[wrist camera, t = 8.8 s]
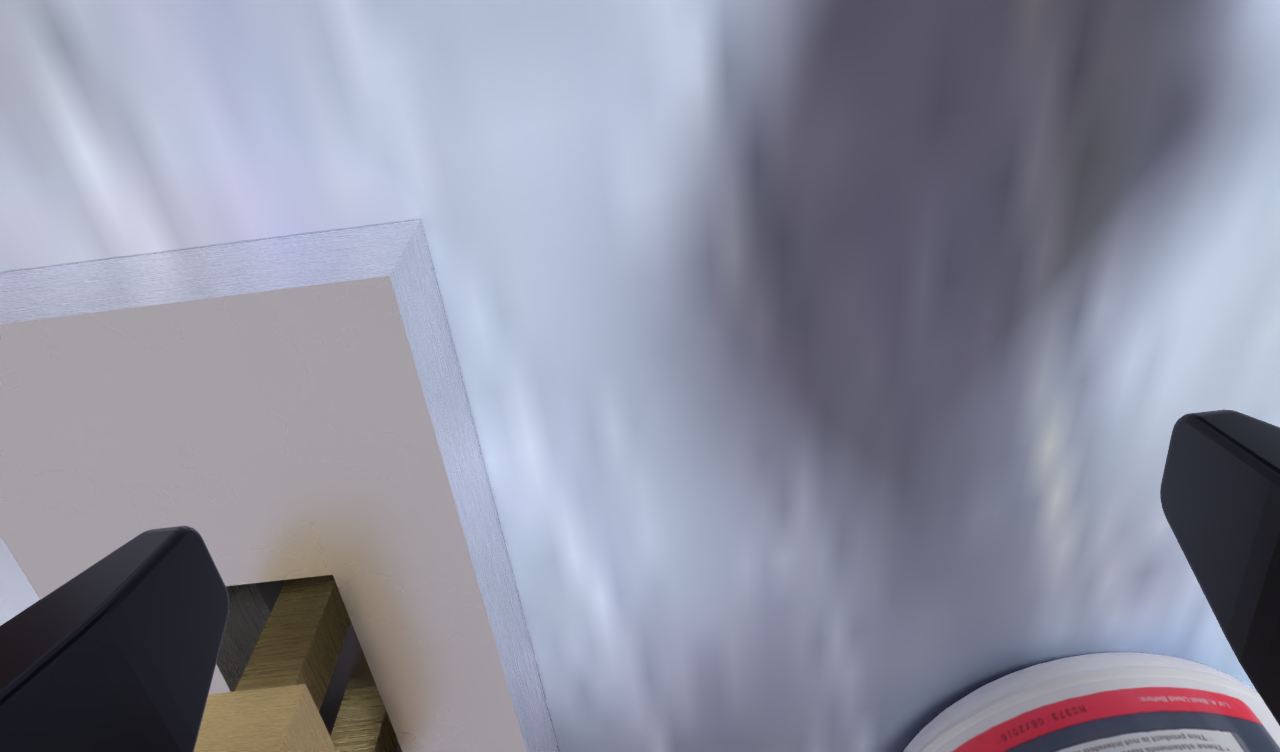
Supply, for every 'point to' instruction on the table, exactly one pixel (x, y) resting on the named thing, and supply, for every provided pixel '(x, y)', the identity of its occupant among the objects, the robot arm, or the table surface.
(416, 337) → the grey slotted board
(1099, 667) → the supplement tub
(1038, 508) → the table surface
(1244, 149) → the table surface
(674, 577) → the table surface
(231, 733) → the tan pronged block
